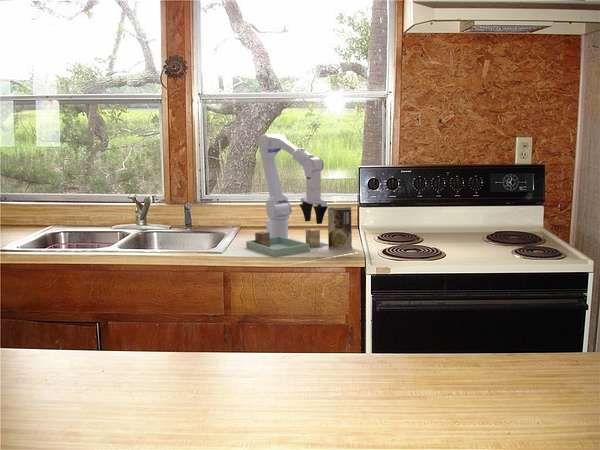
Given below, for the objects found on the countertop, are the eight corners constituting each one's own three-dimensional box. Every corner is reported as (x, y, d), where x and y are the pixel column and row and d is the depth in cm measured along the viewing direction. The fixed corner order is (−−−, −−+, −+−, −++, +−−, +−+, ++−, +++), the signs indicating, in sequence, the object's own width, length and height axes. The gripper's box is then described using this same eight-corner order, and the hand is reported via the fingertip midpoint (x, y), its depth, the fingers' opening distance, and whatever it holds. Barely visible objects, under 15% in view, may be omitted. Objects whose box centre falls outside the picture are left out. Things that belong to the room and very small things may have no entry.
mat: (296, 245, 258) (296, 244, 258) (316, 242, 264) (316, 241, 264) (311, 249, 250) (311, 248, 250) (331, 246, 256) (331, 245, 256)
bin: (246, 249, 253) (246, 241, 252) (280, 243, 262) (280, 236, 261) (274, 258, 237) (274, 249, 236) (309, 252, 246) (309, 244, 245)
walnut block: (255, 247, 252) (255, 232, 251) (262, 246, 255) (262, 231, 254) (262, 249, 250) (262, 233, 249) (269, 247, 253) (269, 232, 252)
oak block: (305, 244, 257) (305, 229, 256) (313, 243, 259) (313, 228, 258) (311, 246, 254) (311, 231, 253) (319, 245, 256) (319, 229, 255)
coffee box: (351, 247, 254) (351, 206, 252) (351, 250, 248) (351, 209, 245) (328, 247, 255) (328, 206, 252) (327, 250, 249) (327, 209, 246)
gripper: (294, 187, 256) (294, 221, 259) (316, 190, 245) (316, 226, 247) (308, 186, 261) (308, 219, 263) (331, 189, 249) (330, 224, 251)
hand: (313, 222), depth 255 cm, fingers open, 7 cm apart
